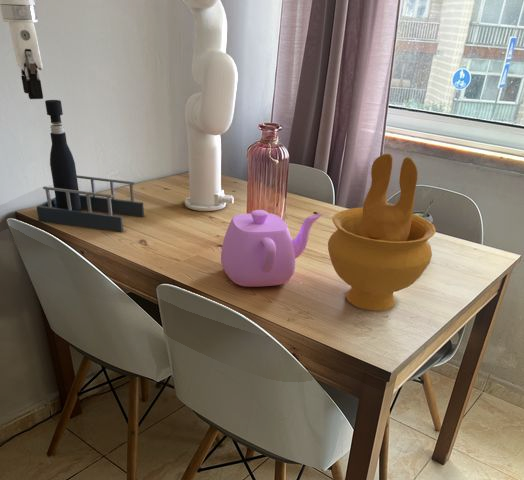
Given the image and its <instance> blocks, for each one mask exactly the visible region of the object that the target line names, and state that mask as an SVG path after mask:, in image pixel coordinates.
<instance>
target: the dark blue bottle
mask: <svg viewBox="0 0 524 480" xmlns="http://www.w3.org/2000/svg"><path fill="white" fill-rule="evenodd" d="M44 103H45V110H46V115H47V116H49V117H50V123H51V124H50V139H51V148H50V152H49V153H50V154H49V167H50V174H51V178H52V185H53V188H60V189H68V190H76V191H80V190H79V183H78V182H79V181H78V178H77V169H76V167H77V166H76V161H75V159H74V156H73V153H72V151H71V148H70V147H69V145H68V141H67V136H66V132H65V129H64V127H65V126H63V124H62V118H61V116H62V115H64V112H63V106H62V101H61V100H60V99H47V100H45V101H44ZM53 192H54V198H56V204H57V208H61V209H68V204H67V198H66V192H62V191H54V190H53ZM69 194H70V201H71V207H72V210H76V211H83V209H81V203H80V196H79V195H80V194H78V193H70V192H69Z"/></svg>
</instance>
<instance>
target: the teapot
mask: <svg viewBox="0 0 524 480" xmlns="http://www.w3.org/2000/svg"><path fill="white" fill-rule="evenodd" d="M322 216H323V213H316V214H311V215H309V216H307V217H306V218H305V219H304V220H303V222H302V224H301V227H300V229H299V232H298V233H297V235H296V237H294V238H293V239H292V236H291V233H290V229H289V228H288V225H287V223H286V221H284V219H283V218H281V216H279V215H277V214H275V213H271V212H270V213H269V212H268V211H266V210H265V209H264V210H263V209H255V210H252V211H251V212H250V213H239V214H235V215H234V216H232V219H231V220H230V222H229V224H228V227H227V230H226V231H225V235H224V237H223V241H222V245H221V251H220V263H221V266H222V268H223V270H224V272H225V274H226V275H227V277H228V278H229V279H230V280H231V281H232V282H233V283H234V284H236V285H238V286H241V287H251V288H253V287H270V286H279V285H285V284H286V283H289V281H290V279H291V278H292V277H293V276H294V273H295V270H296V259H298V258H299V257H300V256H301V255H302V254H303V253H304V252H305V250H306V248H307V245H308V242H309V238H310V237H309V236H310V233H311V229H312V227H313V224H314V223H315V222H316V221H317V220H318V219H320V218H321V217H322Z"/></svg>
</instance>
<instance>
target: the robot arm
mask: <svg viewBox="0 0 524 480" xmlns="http://www.w3.org/2000/svg"><path fill="white" fill-rule="evenodd" d="M181 1H182V2H183V4H184V5H186V6H187V8H188V9H189V11H190V13H191V16H192V18H193V23H194V37H193V39H194V40H193V49H192V60H191V61H192V62H191V75H192V78H193V79H194V81H195V83H197V84H198V85H199V86H201V91H199V92H196V93H193V94H192V95H191V96H190V97H188V99H187V101H186V103H185V108H184V119H185V126H186V135H187V142H188V143H187V149H188V150H187V151H188V153H187V154H188V155H187V156H188V181H189V182H188V185H189V186H188V187H189V197H187V198H186V199H185V200H184V206H185V207H186V208H187V209H190V210H192V211H193V210H194V211H198V212H215V211H219V210H222V209H224V208H225V207H226V206H227V204H231V205H233V204H234V203H235V197H233V195H232V194H231V195H230V194H226V193H225V191H224V189H222V139H221V135H224V134H225V133H226V132H227V131H228V130H229V129H230V127H231V125H232V122H233V119H234V114H235V113H234V112H235V106H236V97H237V87H238V79H239V78H238V68H237V65H236V63H235V62H236V61H234V59H233V57H232V56H231V55H230V54H228V53H227V51H226V50H227V36H228V35H227V34H228V21H227V13H226V10H225V7H224V5H223V3H222V0H181ZM0 12H1V18H2V22H4V23H5V22H6V23H8V26H9V31H10V32H9V33H10V36H11V42H12V46H13V51H14V56H15V59H16V63H17V66H18V68H20V73H21V74H20V78H21V83H22V88H23V92H24V93H25V94H27V96H28V99H29V100H43V99H44V93H43V88H42V87H43V86H42V81H41V79H40V76H39V75H40V74H39V71H43V70H44V66H43V61H42V56H41V50H40V44H39V40H38V34H37V31H36V26H35V23H38V22H39V19H38V14H37V8H36V2H35V0H0ZM38 70H39V71H38Z"/></svg>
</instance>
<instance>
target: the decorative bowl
mask: <svg viewBox="0 0 524 480" xmlns="http://www.w3.org/2000/svg"><path fill="white" fill-rule="evenodd" d="M392 169H393V156H392V154H391V153H383V154H381V155H379V156H378V157H376V158H375V160H373V162H372V165H371V169H370V170H371V171H370V175H371V184H370V187H369V189H368V192H367V194H366V196H365V198H364V201H363V205H362V207H353V208H347V209H344V210H341V211H338V212H336V213H335V214H334V215H333V216H332V223H333V226H335V227H336V229H335V231H334V232H333V233H332V234H331V235H330V237H329V238H328V241H327V250H328V251H327V252H328V255H329V258H330V262H331V264H332V266H333V269H334V271H335V273H336V275H337V276H338V277H339V278H340V279H341V280H342V281H343V282H344V283H346V284H347V285H349V286H351V288H350V289H349V291H348V292H347V293H346V295H345V297H346V300H347V302H349V303H350V304H351V305H353V306H355V307H357V308H358V309H362V310H368V311H375V312H377V311H387V310H389V309H392V308H393V307H395V305H396V299H395V296H394V293H396V292H397V293H398V292H399V291H402V290H405V289H406V288H409V287H410V286H412V285H413V284H414V283H415V282H416V281H418V279H420V278H421V276H422V274H423V273H424V272H425V270H426V269H427V268H428V266H429V265H430V262H431V260H432V256H433V254H432V253H433V252H432V247H431V245H430V243H429V241H427V240H429V239H431V238H432V237H434V236H435V234H436V231H437V229H436V227H435V225H434V223H433V224H431V223H430V222H429V221H427V220H426V219H424V218H422V217H419V216H417V215H414V214H412V212H414V206H415V194H416V189H417V183H418V175H419V174H418V168H417V165H416V163H415V162H414V160H413V158H412V157H409V156H406V157H405V158H403V160H402V162H401V167H400V172H399V183H398V184H399V188H400V189H399V190H400V196H399V199H398V201H397V202H396V203H394V204H393V203H389V202H388V200H387V192H388V189H389V185H390V181H391V175H392Z"/></svg>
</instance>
